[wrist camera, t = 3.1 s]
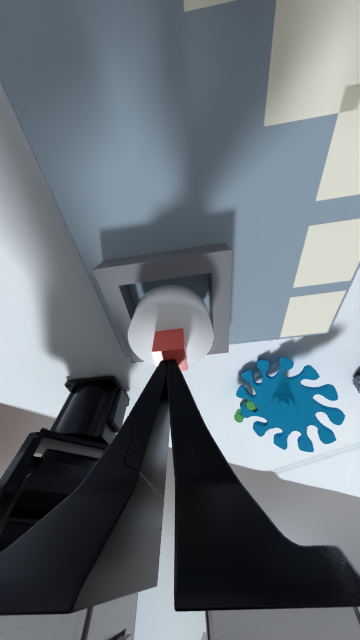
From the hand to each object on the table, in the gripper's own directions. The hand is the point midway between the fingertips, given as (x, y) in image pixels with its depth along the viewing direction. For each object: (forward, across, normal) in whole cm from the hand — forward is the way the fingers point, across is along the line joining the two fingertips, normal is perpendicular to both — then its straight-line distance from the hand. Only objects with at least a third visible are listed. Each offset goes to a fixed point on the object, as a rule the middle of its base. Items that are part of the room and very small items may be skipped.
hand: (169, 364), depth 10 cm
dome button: (+5, 0, 0) cm, 5 cm away
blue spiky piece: (+8, -10, +13) cm, 18 cm away
